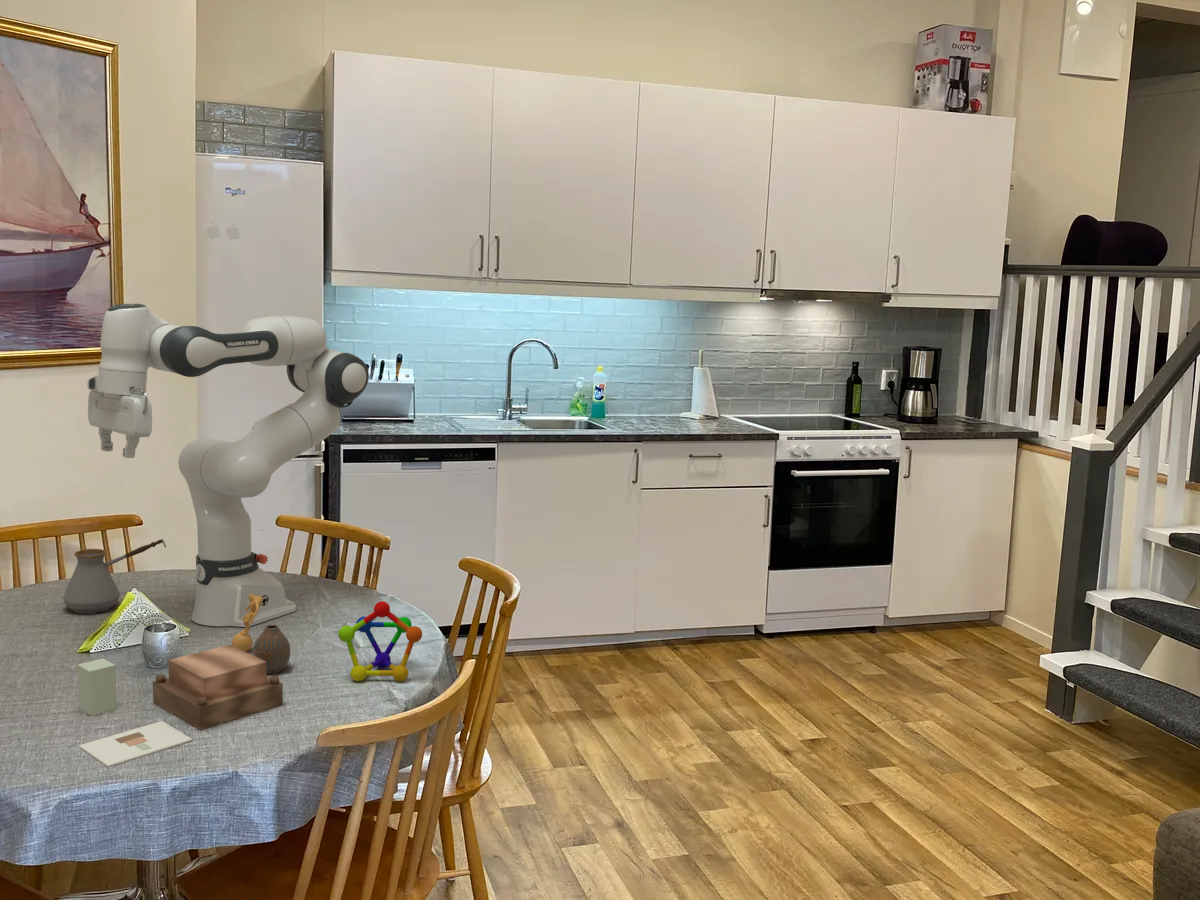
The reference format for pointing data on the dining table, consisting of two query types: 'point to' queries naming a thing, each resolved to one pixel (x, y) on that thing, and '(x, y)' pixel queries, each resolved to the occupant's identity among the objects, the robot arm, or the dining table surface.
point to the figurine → (247, 624)
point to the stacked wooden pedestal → (216, 687)
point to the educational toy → (382, 657)
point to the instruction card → (135, 743)
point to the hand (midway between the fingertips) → (117, 454)
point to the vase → (272, 649)
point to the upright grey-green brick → (97, 686)
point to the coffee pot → (95, 581)
